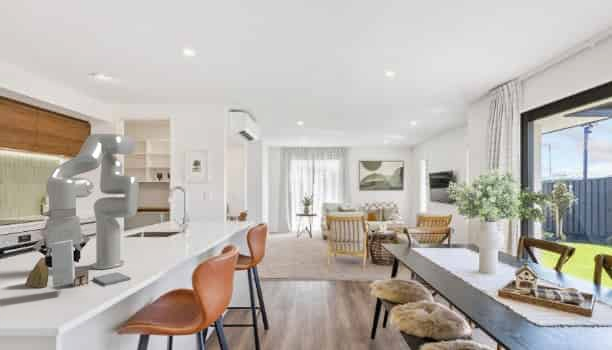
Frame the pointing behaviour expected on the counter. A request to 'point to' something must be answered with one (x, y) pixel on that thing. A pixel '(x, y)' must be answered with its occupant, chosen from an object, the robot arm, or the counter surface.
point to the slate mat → (111, 278)
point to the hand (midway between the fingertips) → (63, 263)
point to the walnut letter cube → (80, 278)
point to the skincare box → (63, 263)
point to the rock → (38, 275)
